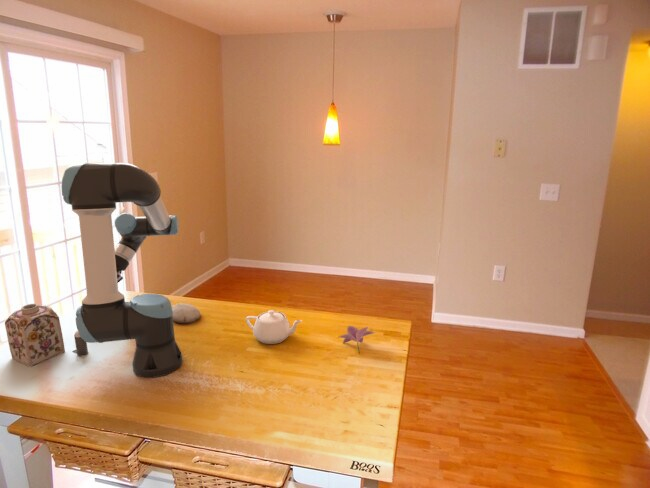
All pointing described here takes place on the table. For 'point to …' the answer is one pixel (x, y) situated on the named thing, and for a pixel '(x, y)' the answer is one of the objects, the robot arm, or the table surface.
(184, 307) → the stone
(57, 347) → the decorative jar
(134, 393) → the table surface
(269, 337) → the teapot
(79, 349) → the pepper shaker
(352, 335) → the lily
